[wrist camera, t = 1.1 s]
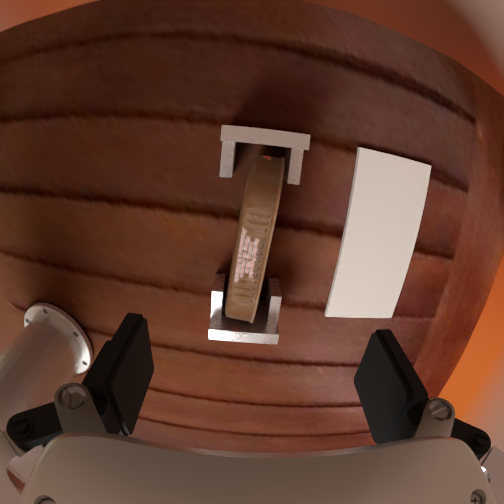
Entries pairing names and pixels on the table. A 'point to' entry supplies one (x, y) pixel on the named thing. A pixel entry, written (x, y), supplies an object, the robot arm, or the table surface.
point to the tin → (254, 236)
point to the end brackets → (268, 310)
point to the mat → (378, 235)
